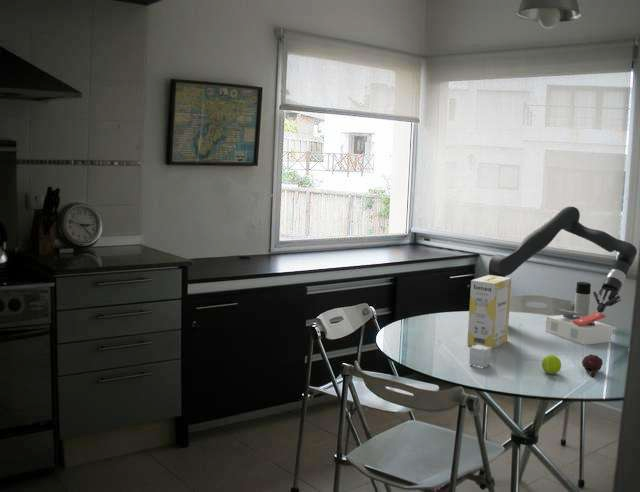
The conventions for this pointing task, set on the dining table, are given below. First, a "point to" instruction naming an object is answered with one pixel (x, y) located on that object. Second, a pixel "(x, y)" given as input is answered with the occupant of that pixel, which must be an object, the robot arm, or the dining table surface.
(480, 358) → the skincare box
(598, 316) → the rocker
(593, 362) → the icecream
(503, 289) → the pasta box
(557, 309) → the rocker
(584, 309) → the spray can
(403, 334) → the dining table surface
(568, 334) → the power strip
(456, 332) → the dining table surface
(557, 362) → the tennis ball
